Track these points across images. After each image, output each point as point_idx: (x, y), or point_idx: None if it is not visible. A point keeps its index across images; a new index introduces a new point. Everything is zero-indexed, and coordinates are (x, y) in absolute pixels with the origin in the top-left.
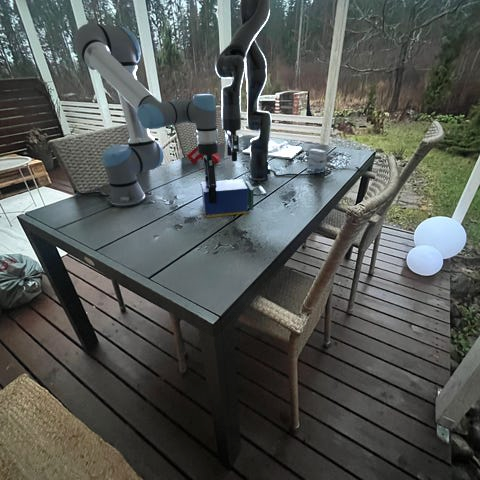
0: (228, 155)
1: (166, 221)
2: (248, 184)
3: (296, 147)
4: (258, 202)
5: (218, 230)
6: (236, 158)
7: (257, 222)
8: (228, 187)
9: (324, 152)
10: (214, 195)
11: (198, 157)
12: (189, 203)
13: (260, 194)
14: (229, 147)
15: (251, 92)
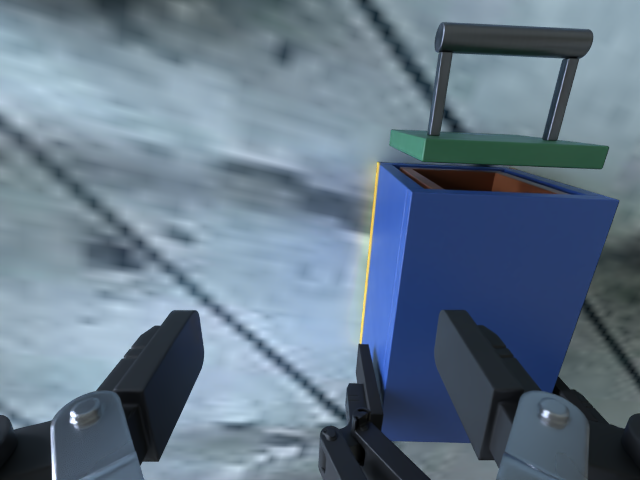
0: (203, 354)
1: (440, 456)
2: (493, 155)
3: None
4: (407, 62)
5: (591, 316)
6: (498, 339)
7: (619, 145)
8: (533, 318)
9: None
10: (578, 395)
11: None
12: (314, 385)
13: (571, 82)
14: (157, 427)
15: None
